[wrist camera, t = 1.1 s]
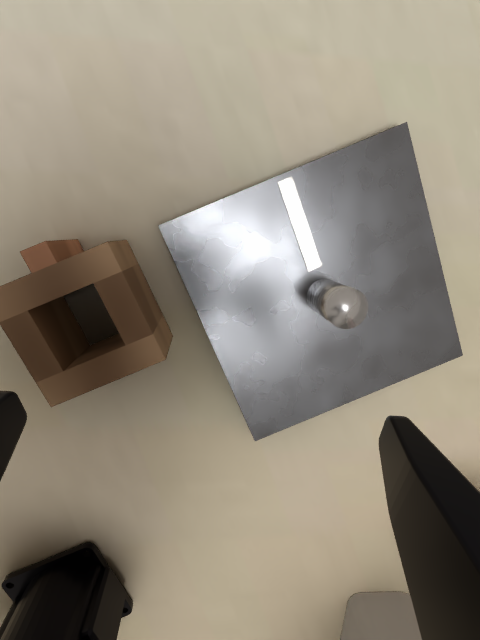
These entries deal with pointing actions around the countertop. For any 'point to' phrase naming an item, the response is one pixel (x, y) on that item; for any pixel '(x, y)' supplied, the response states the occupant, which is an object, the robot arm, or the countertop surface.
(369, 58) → the countertop surface
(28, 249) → the wooden cubby with handle
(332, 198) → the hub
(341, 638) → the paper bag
